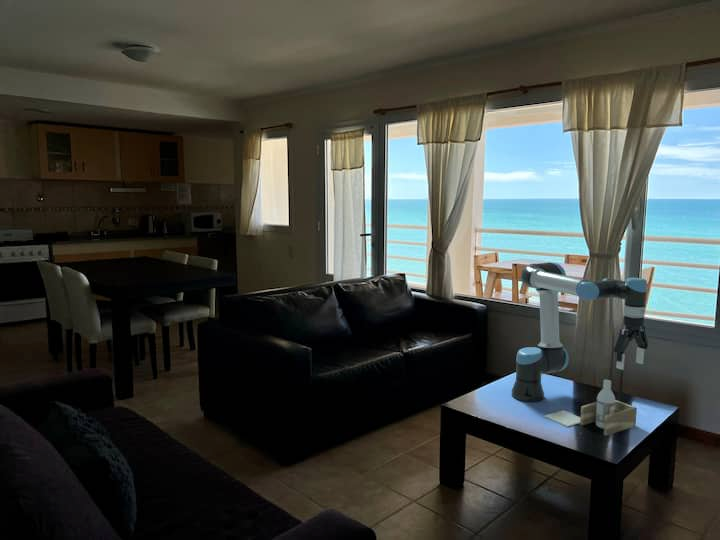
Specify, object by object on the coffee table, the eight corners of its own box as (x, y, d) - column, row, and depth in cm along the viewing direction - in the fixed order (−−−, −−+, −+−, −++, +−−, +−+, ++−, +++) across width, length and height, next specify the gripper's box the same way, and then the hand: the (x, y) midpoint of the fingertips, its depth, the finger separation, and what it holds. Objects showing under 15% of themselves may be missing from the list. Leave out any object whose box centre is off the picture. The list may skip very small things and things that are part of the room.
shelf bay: (580, 424, 218) (581, 406, 217) (609, 415, 228) (610, 398, 226) (606, 435, 208) (607, 417, 207) (635, 425, 217) (636, 407, 216)
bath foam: (607, 431, 212) (610, 384, 209) (592, 425, 218) (594, 379, 215) (617, 427, 216) (620, 381, 213) (601, 421, 221) (604, 376, 219)
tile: (544, 416, 226) (544, 415, 226) (563, 411, 232) (563, 410, 232) (567, 427, 216) (567, 425, 216) (586, 421, 221) (586, 419, 221)
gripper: (624, 321, 199) (620, 374, 202) (660, 314, 212) (655, 363, 215) (606, 317, 206) (602, 368, 209) (642, 310, 218) (638, 358, 221)
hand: (629, 366), depth 212 cm, fingers open, 13 cm apart
